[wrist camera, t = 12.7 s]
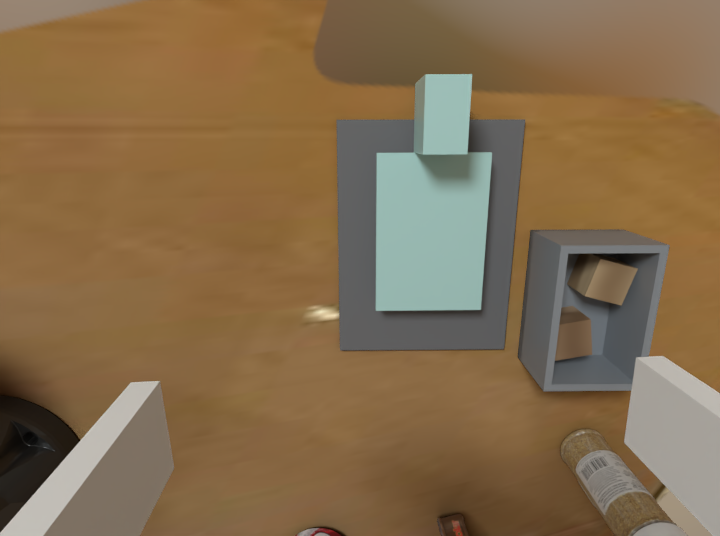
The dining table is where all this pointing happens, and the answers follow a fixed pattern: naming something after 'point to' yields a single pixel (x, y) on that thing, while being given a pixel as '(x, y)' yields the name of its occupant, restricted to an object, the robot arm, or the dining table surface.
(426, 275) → the block with upright tab
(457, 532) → the tin
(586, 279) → the cube
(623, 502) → the sprinkles bottle
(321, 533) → the soda can
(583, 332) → the cube
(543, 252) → the tub
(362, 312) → the mat
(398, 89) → the dining table surface
